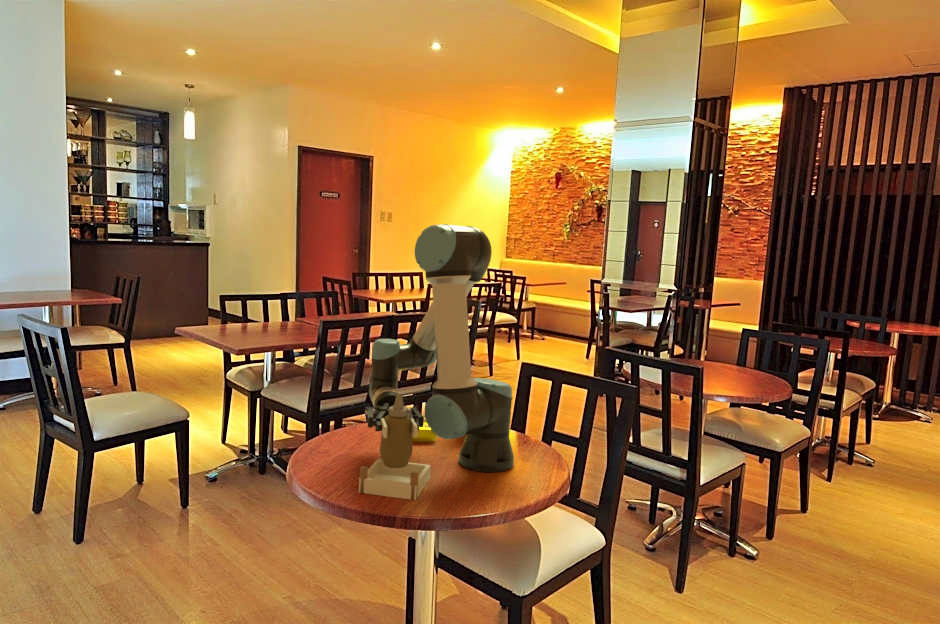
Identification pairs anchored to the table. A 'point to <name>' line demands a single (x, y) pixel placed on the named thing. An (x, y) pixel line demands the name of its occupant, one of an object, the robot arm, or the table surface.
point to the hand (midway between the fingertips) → (400, 432)
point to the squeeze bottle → (397, 436)
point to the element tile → (425, 433)
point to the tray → (394, 480)
